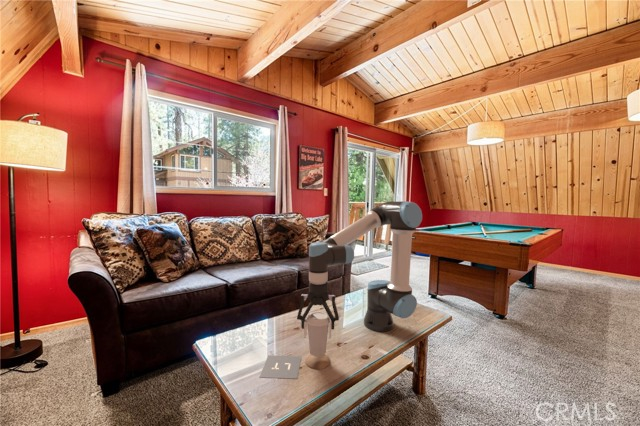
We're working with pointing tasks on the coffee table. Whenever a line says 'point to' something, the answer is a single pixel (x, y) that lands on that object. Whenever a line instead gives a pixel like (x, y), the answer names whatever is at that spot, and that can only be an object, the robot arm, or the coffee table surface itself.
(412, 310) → the robot arm
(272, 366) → the tile
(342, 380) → the coffee table surface
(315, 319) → the coffee cup
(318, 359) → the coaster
